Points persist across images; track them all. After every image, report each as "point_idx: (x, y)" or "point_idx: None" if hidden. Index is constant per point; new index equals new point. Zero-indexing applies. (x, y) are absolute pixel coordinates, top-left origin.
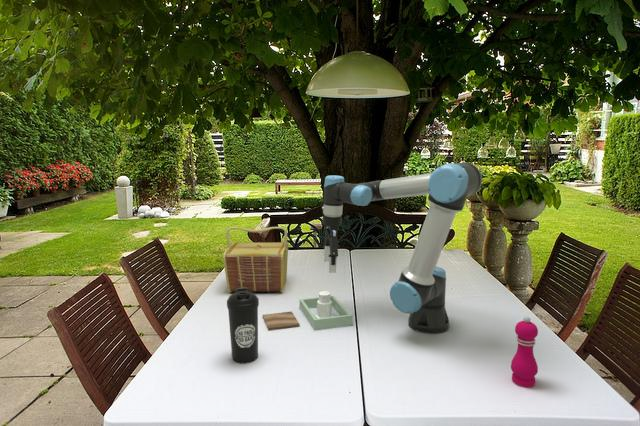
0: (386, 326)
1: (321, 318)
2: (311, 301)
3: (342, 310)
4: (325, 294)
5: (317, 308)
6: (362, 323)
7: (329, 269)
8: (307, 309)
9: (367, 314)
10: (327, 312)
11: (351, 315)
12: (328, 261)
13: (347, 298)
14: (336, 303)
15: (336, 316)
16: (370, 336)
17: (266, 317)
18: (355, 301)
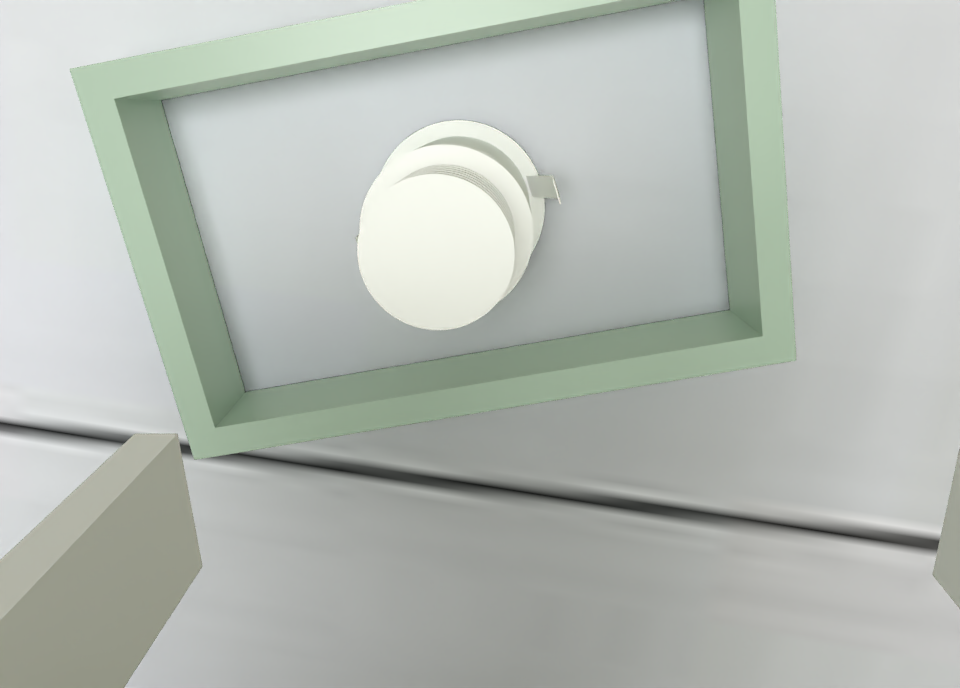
0: (202, 654)
1: (118, 153)
2: (734, 94)
3: (387, 391)
4: (393, 260)
5: (444, 140)
6: (268, 504)
7: (96, 478)
8: (395, 14)
9: (457, 573)
10: (357, 239)
11: (197, 453)
12: (946, 530)
13: (887, 480)
14: (581, 361)
15: (173, 313)
16: (13, 515)
17: None
18: (787, 534)
